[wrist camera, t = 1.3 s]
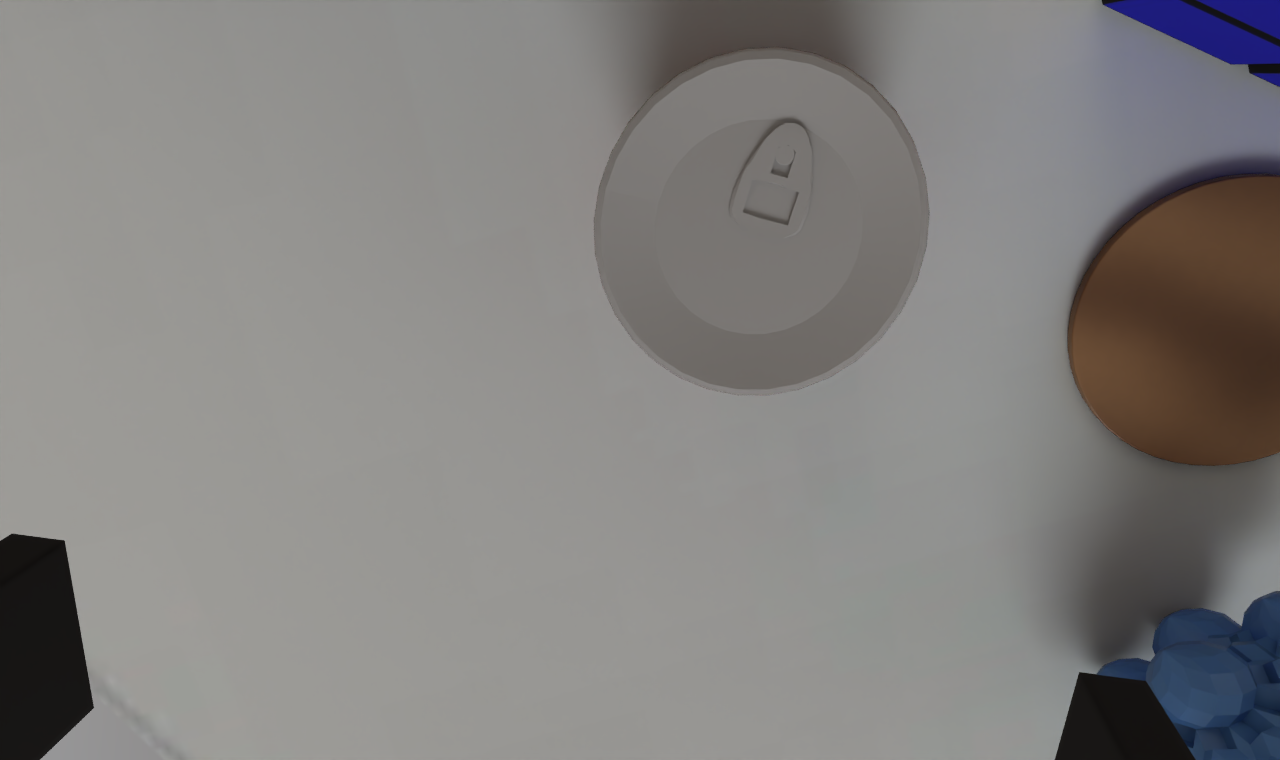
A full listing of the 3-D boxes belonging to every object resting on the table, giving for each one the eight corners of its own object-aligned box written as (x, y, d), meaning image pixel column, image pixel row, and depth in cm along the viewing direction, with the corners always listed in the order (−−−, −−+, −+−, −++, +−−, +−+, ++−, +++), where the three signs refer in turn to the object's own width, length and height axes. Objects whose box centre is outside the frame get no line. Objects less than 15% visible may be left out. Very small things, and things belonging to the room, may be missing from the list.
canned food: (882, 54, 29) (951, 43, 18) (864, 296, 31) (915, 406, 21) (646, 57, 30) (585, 47, 19) (648, 292, 32) (594, 394, 22)
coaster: (1102, 163, 29) (1108, 164, 28) (1436, 184, 28) (1447, 186, 27) (1041, 446, 32) (1044, 451, 32) (1336, 473, 31) (1345, 480, 31)
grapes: (1234, 452, 31) (1500, 663, 20) (1355, 574, 32) (1675, 842, 21) (974, 643, 35) (1076, 911, 24) (1089, 748, 36) (1239, 1054, 25)
